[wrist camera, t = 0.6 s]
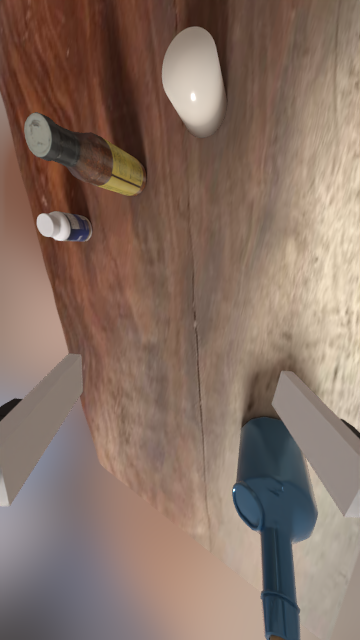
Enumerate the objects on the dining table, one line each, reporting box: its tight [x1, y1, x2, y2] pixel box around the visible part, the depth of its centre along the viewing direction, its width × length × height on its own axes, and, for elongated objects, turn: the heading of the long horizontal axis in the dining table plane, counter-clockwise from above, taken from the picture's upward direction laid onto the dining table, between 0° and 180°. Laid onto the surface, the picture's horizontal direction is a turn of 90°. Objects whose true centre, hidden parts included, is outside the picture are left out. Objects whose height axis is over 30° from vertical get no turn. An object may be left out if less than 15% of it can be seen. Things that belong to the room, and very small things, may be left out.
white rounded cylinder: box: [162, 26, 227, 138], centre depth 29 cm, size 7×7×9 cm
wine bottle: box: [232, 416, 318, 640], centre depth 36 cm, size 14×13×30 cm
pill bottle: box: [37, 211, 92, 241], centre depth 43 cm, size 5×5×10 cm
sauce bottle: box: [24, 112, 146, 196], centre depth 32 cm, size 6×6×20 cm
